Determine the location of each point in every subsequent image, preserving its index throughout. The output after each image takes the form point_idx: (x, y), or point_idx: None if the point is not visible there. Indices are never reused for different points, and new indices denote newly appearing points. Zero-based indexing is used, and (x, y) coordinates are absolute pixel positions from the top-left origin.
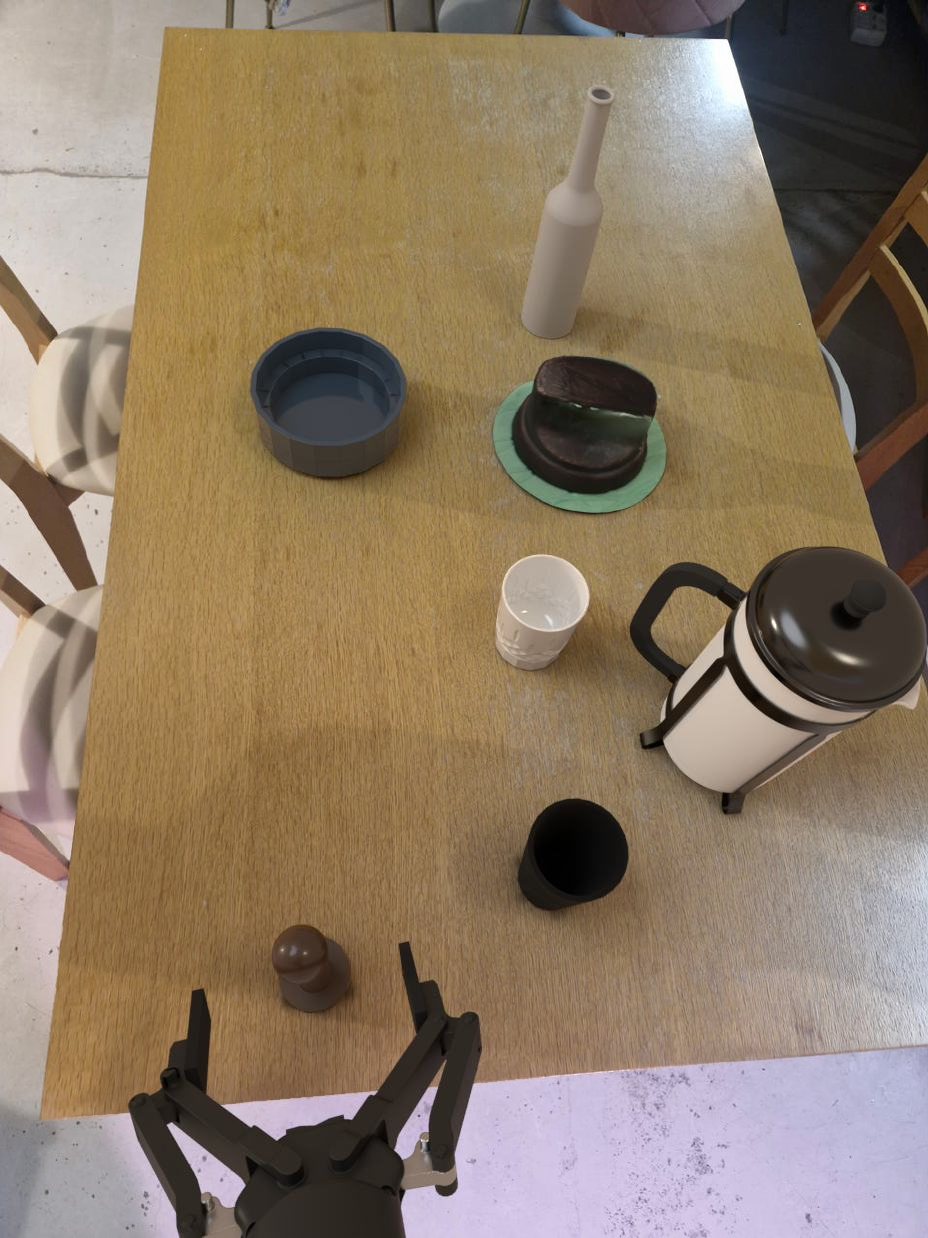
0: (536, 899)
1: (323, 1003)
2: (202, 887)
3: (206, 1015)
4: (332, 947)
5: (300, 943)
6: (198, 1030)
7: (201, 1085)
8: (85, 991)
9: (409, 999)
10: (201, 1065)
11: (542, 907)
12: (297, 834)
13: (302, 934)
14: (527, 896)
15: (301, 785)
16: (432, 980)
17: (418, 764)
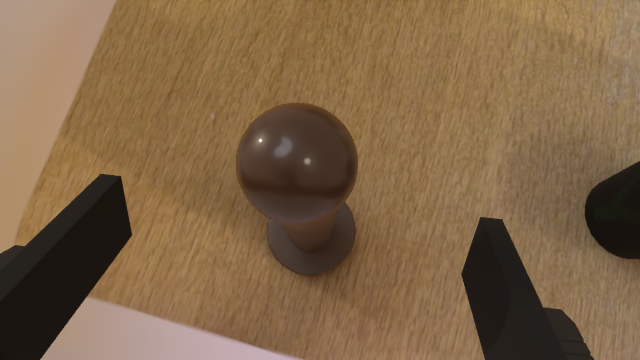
0: (631, 235)
1: (312, 267)
2: (214, 99)
3: (112, 222)
4: (340, 207)
5: (303, 131)
6: (57, 239)
7: (3, 356)
8: (65, 165)
9: (496, 330)
10: (29, 311)
11: (619, 249)
12: (332, 76)
13: (313, 116)
14: (602, 229)
15: (350, 27)
16: (559, 310)
17: (492, 42)
